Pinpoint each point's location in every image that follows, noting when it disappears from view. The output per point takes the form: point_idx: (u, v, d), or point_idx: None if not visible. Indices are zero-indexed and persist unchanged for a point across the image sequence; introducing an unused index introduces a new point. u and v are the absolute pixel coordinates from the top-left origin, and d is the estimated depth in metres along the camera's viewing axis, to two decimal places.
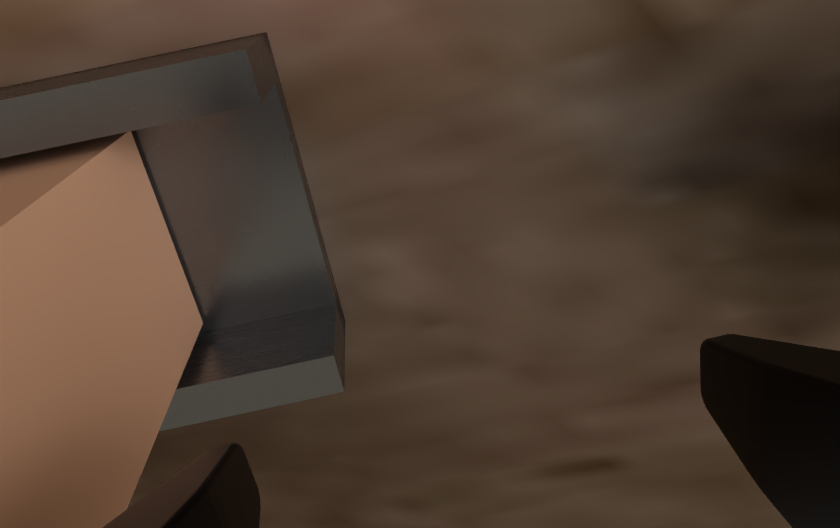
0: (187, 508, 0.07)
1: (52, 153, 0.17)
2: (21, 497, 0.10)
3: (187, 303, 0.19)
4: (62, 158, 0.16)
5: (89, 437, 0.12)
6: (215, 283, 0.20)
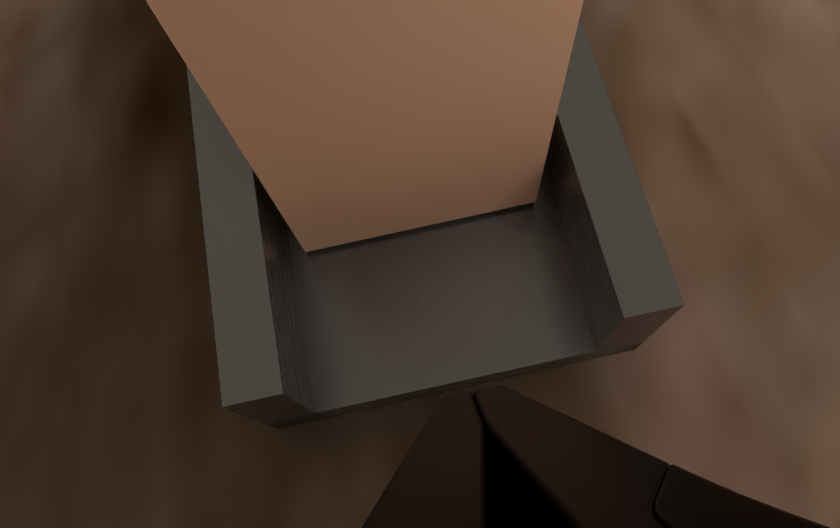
0: (484, 442, 0.07)
1: None
2: None
3: (339, 234, 0.16)
4: None
5: (312, 40, 0.10)
6: (353, 270, 0.17)
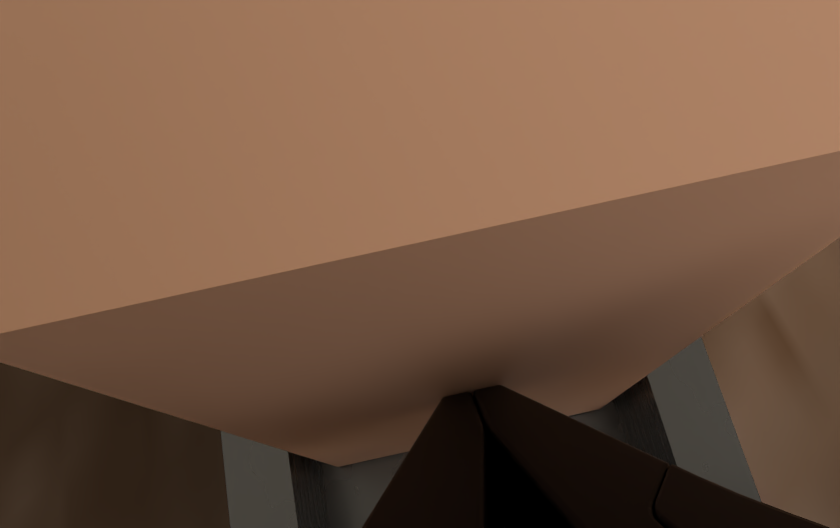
0: (484, 443, 0.07)
1: None
2: (418, 340, 0.06)
3: (377, 455, 0.14)
4: None
5: (377, 395, 0.08)
6: None
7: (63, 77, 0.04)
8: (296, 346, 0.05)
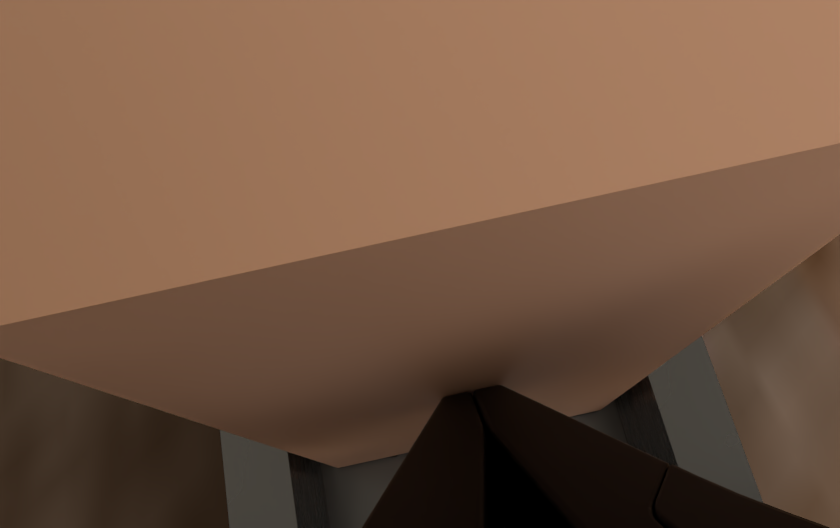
0: (484, 443, 0.07)
1: None
2: (418, 337, 0.06)
3: (378, 456, 0.14)
4: None
5: (377, 394, 0.08)
6: None
7: (59, 70, 0.04)
8: (295, 341, 0.05)
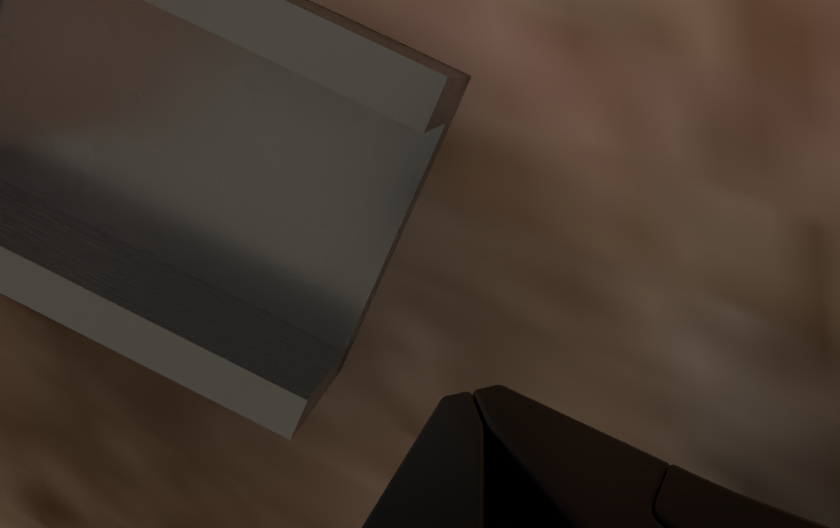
0: (484, 442, 0.07)
1: None
2: None
3: None
4: None
5: None
6: (256, 251, 0.18)
7: None
8: None
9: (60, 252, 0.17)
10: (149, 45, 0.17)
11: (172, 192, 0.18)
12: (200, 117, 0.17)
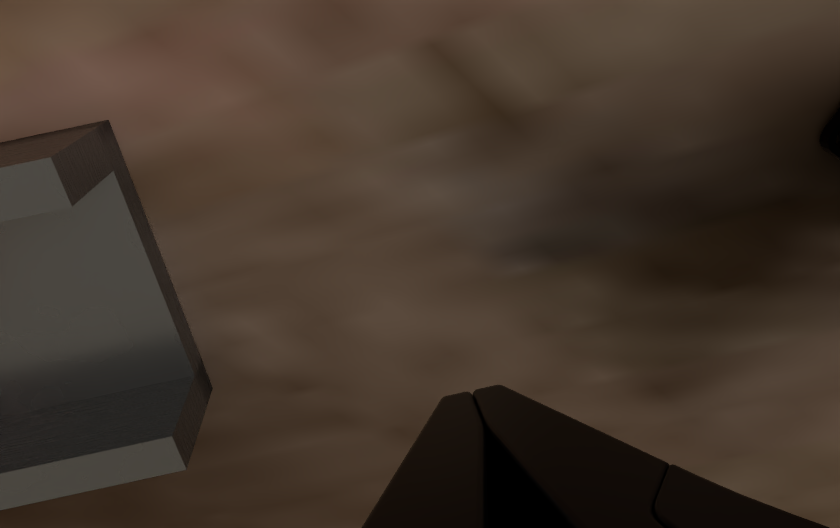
0: (484, 442, 0.07)
1: None
2: None
3: None
4: None
5: None
6: (72, 358, 0.20)
7: None
8: None
9: None
10: None
11: None
12: None
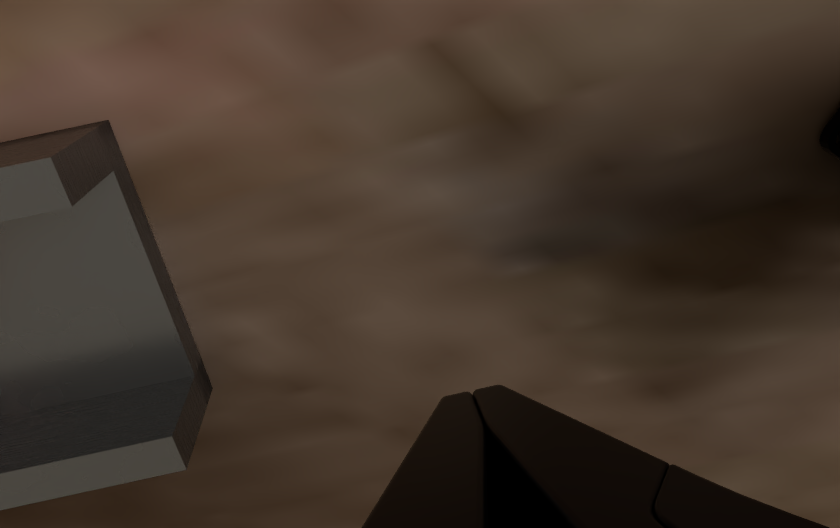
0: (484, 442, 0.07)
1: None
2: None
3: None
4: None
5: None
6: (72, 358, 0.20)
7: None
8: None
9: None
10: None
11: None
12: None
